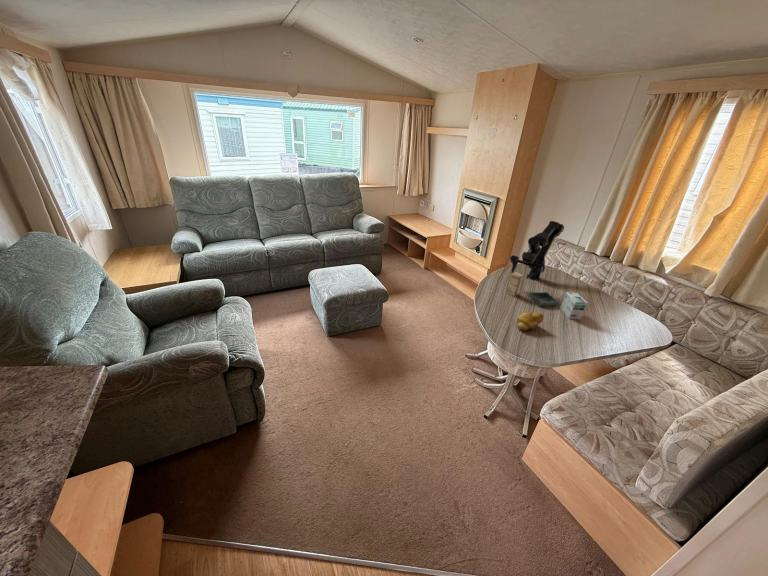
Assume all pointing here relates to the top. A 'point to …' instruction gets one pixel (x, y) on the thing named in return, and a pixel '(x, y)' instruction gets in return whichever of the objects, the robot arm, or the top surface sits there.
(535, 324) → the bread roll
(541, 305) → the grey green tray
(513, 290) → the tall beech block
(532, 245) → the robot arm
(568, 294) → the light bulb box
